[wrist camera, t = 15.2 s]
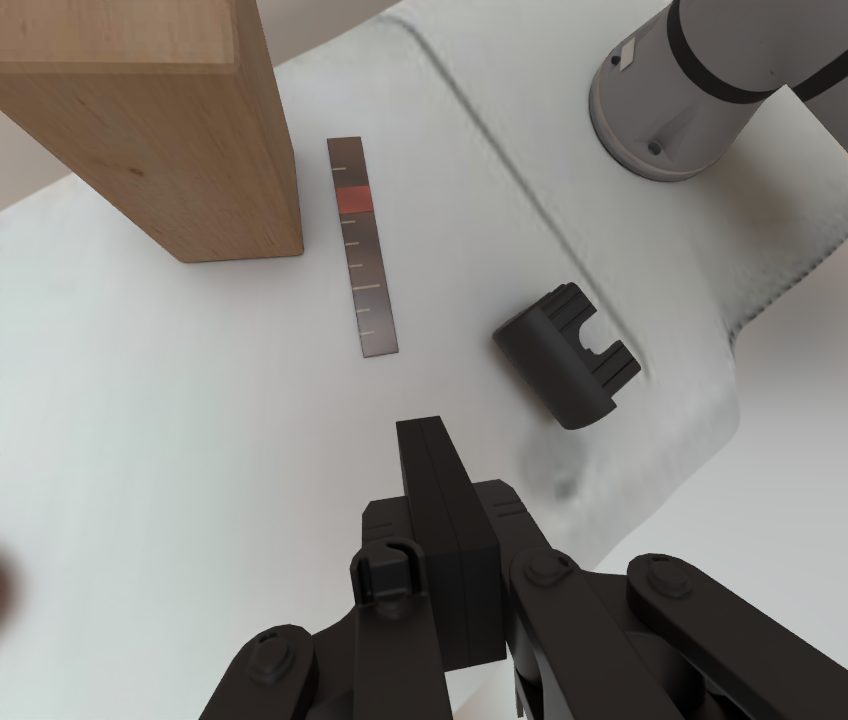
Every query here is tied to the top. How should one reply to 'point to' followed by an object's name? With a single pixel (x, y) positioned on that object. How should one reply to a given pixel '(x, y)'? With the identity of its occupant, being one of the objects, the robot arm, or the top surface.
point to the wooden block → (160, 116)
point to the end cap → (565, 358)
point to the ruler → (362, 247)
